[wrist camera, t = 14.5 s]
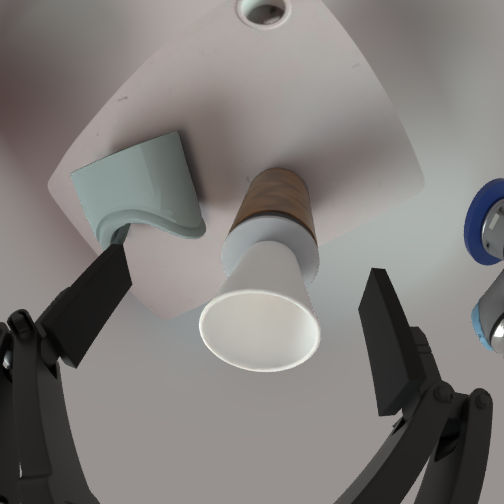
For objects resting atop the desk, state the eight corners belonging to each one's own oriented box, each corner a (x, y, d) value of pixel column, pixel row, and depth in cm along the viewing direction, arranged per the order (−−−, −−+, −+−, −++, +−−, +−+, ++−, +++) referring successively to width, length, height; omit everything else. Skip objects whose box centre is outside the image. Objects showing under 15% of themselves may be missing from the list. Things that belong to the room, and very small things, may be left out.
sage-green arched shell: (188, 127, 45) (156, 137, 34) (214, 221, 54) (195, 255, 43) (98, 160, 50) (58, 179, 39) (126, 237, 59) (96, 268, 48)
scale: (325, 215, 29) (327, 224, 27) (309, 294, 35) (310, 305, 33) (225, 205, 30) (220, 212, 28) (225, 284, 36) (221, 295, 34)
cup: (244, 304, 34) (227, 376, 25) (211, 236, 30) (176, 302, 21) (322, 288, 32) (330, 363, 22) (301, 211, 27) (305, 275, 18)
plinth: (312, 171, 46) (325, 215, 29) (304, 227, 52) (309, 294, 35) (249, 165, 47) (225, 205, 30) (247, 221, 53) (225, 284, 36)
